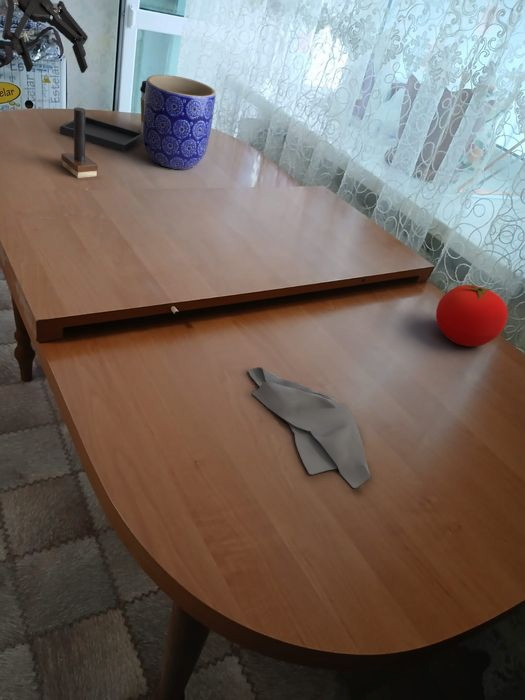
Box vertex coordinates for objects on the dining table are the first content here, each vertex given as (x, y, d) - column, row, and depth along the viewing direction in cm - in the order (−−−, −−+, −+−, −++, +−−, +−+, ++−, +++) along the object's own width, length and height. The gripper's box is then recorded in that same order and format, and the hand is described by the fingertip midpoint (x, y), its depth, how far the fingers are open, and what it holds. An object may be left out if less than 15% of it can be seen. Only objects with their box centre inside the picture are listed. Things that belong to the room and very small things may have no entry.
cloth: (399, 474, 78) (405, 463, 77) (321, 500, 72) (326, 489, 70) (307, 360, 95) (311, 350, 94) (238, 372, 89) (240, 362, 87)
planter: (195, 180, 148) (206, 101, 136) (130, 163, 148) (135, 82, 136) (212, 160, 163) (223, 87, 150) (153, 144, 163) (159, 70, 151)
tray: (60, 133, 155) (59, 125, 153) (83, 122, 165) (83, 115, 164) (124, 152, 153) (124, 145, 152) (144, 140, 164) (144, 133, 163)
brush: (61, 165, 138) (60, 103, 129) (81, 163, 141) (81, 103, 132) (77, 178, 134) (77, 115, 125) (97, 176, 137) (99, 115, 128)
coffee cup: (132, 133, 167) (135, 81, 158) (144, 127, 174) (148, 76, 165) (157, 141, 166) (162, 89, 157) (168, 135, 173) (174, 84, 164)
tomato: (495, 364, 107) (524, 317, 100) (427, 345, 107) (451, 296, 100) (486, 330, 117) (512, 285, 110) (424, 312, 117) (446, 266, 110)
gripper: (71, -3, 139) (99, 78, 141) (-32, -15, 124) (1, 76, 126) (81, -23, 134) (111, 62, 135) (-26, -38, 118) (9, 58, 120)
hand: (58, 69), depth 130 cm, fingers open, 13 cm apart
